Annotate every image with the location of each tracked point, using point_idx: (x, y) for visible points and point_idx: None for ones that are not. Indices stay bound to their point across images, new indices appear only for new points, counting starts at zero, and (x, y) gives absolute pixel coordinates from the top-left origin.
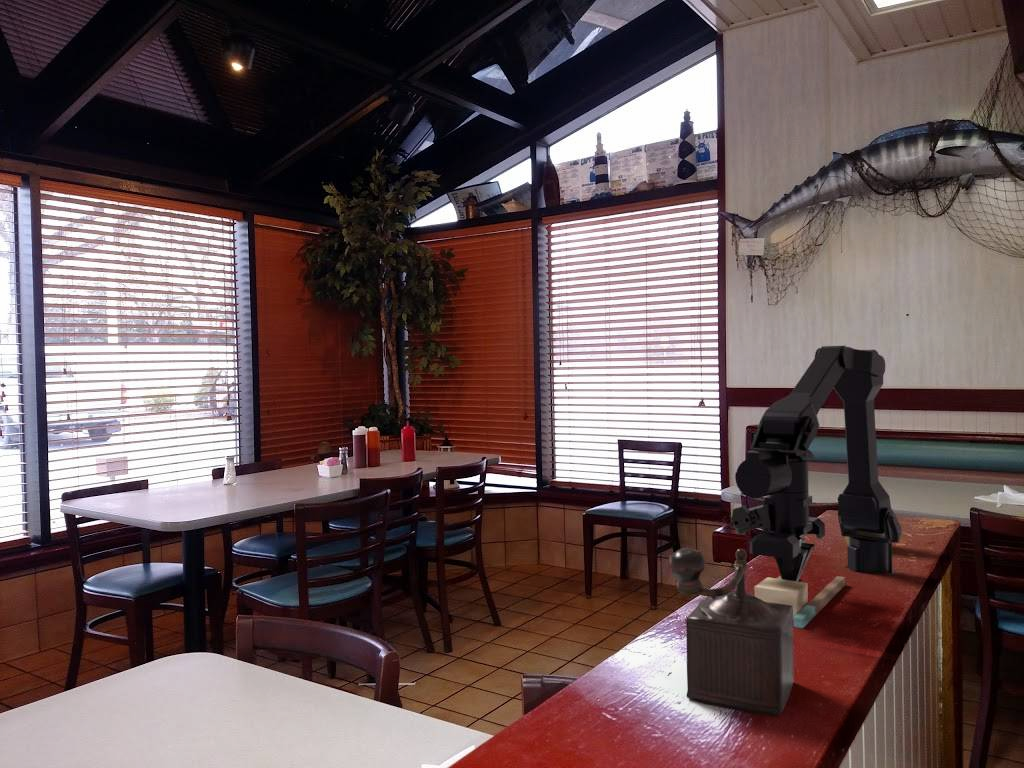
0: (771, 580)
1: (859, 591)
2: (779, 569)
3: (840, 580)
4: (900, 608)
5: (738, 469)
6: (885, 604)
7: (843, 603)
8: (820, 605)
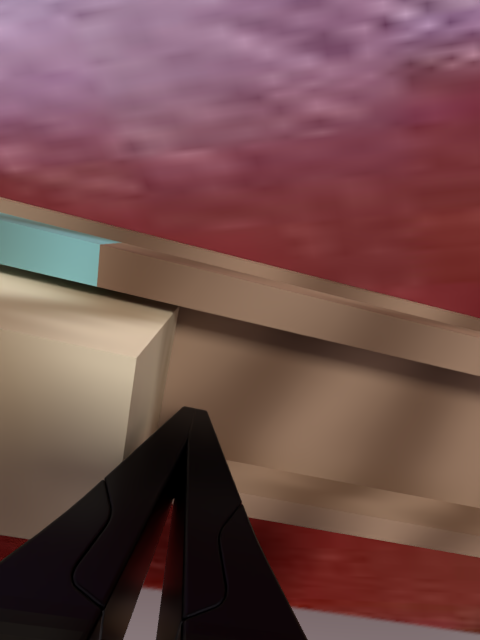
0: (65, 388)
1: None
2: (90, 494)
3: (465, 552)
4: (303, 605)
5: None
6: (330, 584)
7: None
8: None
